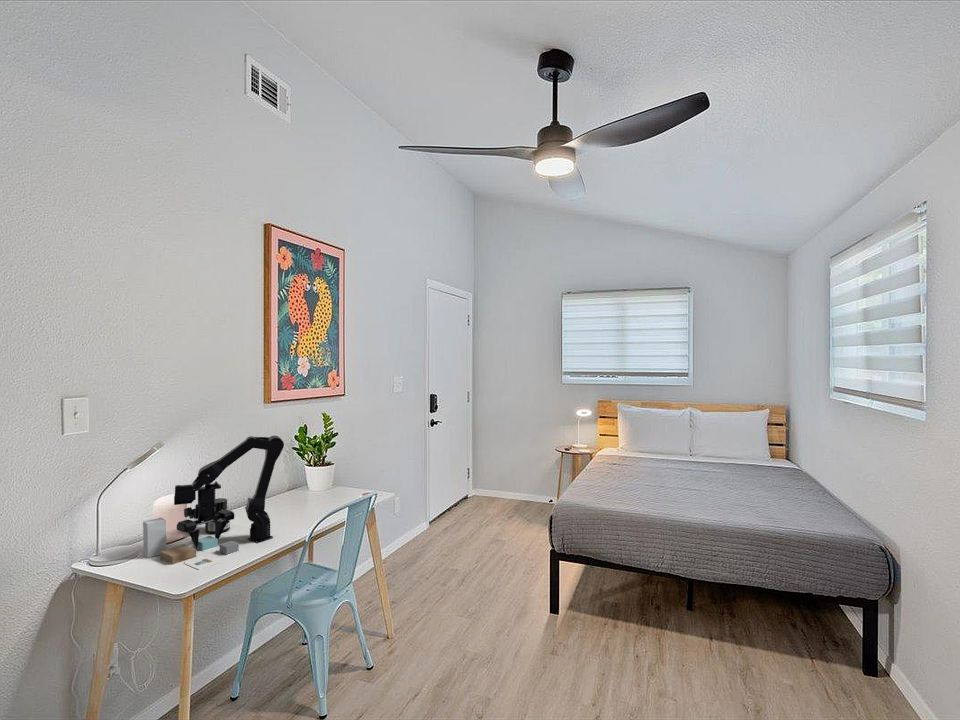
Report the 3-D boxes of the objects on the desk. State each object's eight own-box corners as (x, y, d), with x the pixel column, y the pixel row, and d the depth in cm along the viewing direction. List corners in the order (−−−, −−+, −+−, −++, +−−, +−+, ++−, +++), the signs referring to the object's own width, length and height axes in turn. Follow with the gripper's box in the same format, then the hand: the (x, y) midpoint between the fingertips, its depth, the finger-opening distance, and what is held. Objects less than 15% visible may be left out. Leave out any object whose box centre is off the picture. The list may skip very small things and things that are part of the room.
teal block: (209, 543, 195) (210, 535, 195) (217, 547, 191) (217, 538, 191) (194, 548, 190) (194, 540, 190) (202, 551, 187) (202, 543, 187)
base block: (184, 552, 186) (184, 544, 186) (196, 557, 182) (196, 549, 182) (160, 560, 179) (160, 551, 179) (172, 565, 175) (172, 556, 175)
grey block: (231, 548, 190) (231, 540, 190) (238, 551, 187) (238, 543, 187) (219, 552, 186) (219, 544, 186) (226, 555, 183) (226, 547, 183)
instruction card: (204, 556, 182) (204, 555, 182) (219, 562, 177) (219, 561, 177) (184, 563, 176) (184, 562, 176) (198, 569, 171) (198, 569, 171)
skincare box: (161, 550, 187) (161, 517, 187) (166, 553, 184) (166, 519, 184) (142, 555, 182) (142, 521, 182) (147, 558, 180) (147, 523, 179)
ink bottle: (208, 536, 201) (208, 505, 201) (200, 530, 207) (200, 500, 207) (234, 530, 208) (234, 500, 208) (226, 525, 214) (226, 496, 214)
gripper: (218, 492, 203) (218, 532, 203) (168, 503, 187) (168, 547, 187) (235, 496, 197) (235, 538, 197) (185, 509, 181) (185, 553, 181)
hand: (206, 543), depth 191 cm, fingers open, 7 cm apart
